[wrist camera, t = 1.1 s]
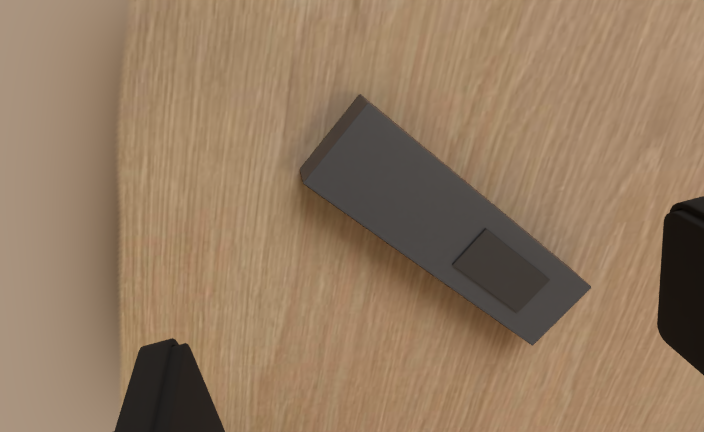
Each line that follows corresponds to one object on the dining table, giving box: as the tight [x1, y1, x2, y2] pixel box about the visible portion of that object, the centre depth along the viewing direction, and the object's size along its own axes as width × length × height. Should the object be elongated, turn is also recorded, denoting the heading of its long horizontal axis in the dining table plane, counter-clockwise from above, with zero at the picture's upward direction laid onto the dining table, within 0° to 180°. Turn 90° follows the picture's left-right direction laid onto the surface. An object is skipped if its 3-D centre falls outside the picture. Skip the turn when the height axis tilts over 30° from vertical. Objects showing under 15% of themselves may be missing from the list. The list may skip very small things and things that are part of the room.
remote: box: [300, 94, 591, 345], centre depth 27 cm, size 16×4×2 cm, turn 50°
